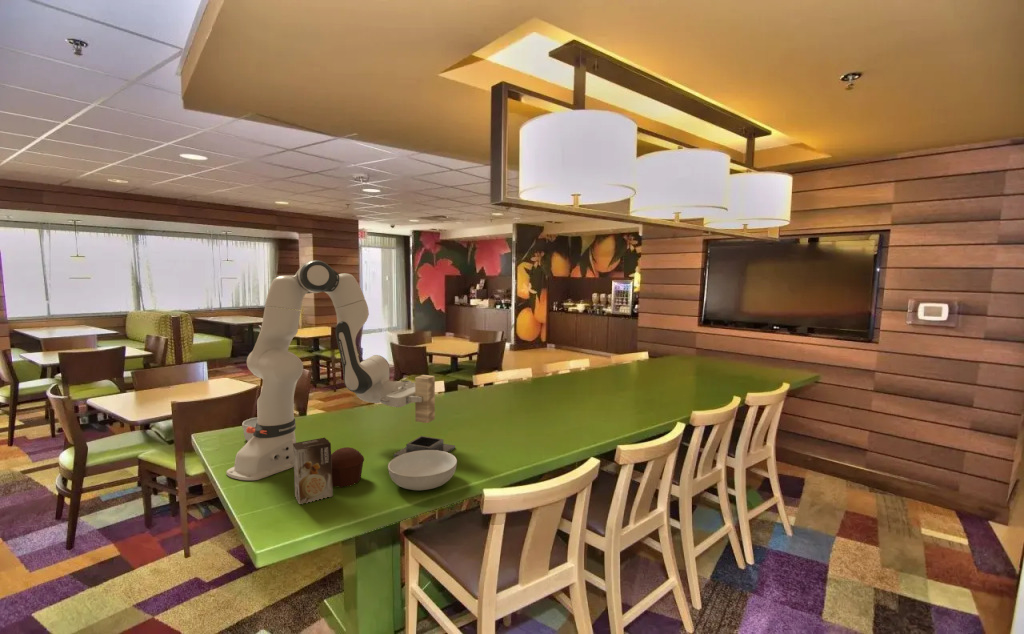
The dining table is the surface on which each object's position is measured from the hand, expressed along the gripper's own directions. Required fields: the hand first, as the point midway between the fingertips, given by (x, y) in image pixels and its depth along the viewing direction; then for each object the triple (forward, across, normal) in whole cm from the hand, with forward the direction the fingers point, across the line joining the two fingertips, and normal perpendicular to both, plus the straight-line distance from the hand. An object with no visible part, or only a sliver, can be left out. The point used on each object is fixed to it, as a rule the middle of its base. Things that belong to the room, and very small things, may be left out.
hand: (427, 397), depth 166 cm
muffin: (-11, -30, +21) cm, 38 cm away
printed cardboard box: (-12, -42, +20) cm, 48 cm away
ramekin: (-68, -12, +21) cm, 72 cm away
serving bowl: (+12, -22, +21) cm, 33 cm away
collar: (-1, 0, +20) cm, 21 cm away
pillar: (-1, 0, +8) cm, 9 cm away
